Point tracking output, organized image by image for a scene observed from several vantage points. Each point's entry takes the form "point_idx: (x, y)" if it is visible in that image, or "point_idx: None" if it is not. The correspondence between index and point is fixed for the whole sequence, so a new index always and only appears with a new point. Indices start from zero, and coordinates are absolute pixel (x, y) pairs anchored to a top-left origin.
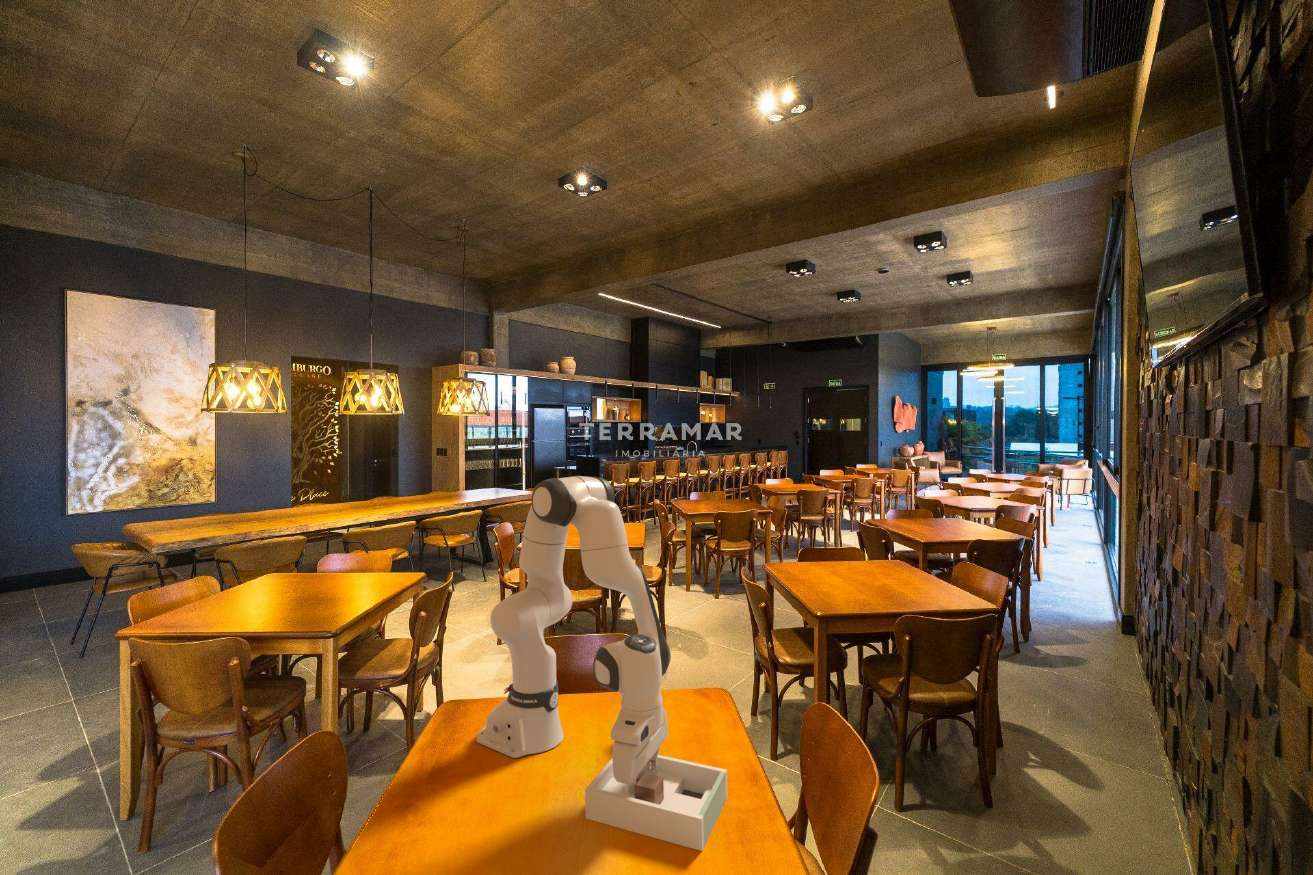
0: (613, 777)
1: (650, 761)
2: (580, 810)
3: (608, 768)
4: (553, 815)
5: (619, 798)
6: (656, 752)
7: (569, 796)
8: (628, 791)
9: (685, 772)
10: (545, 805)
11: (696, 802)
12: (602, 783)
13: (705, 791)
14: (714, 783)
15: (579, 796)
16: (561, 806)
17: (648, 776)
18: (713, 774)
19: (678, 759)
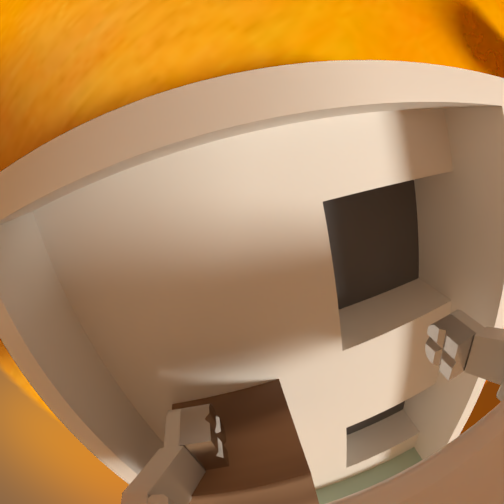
0: (309, 128)
1: (457, 357)
2: (67, 118)
3: (269, 119)
4: (3, 74)
5: (73, 431)
6: (499, 378)
7: (119, 5)
8: (166, 418)
9: (442, 397)
10: (35, 5)
11: (327, 471)
12: (141, 161)
13: (381, 452)
14: (417, 439)
15: (143, 31)
16: (51, 41)
17: (288, 494)
18: (429, 454)
19: (480, 388)
